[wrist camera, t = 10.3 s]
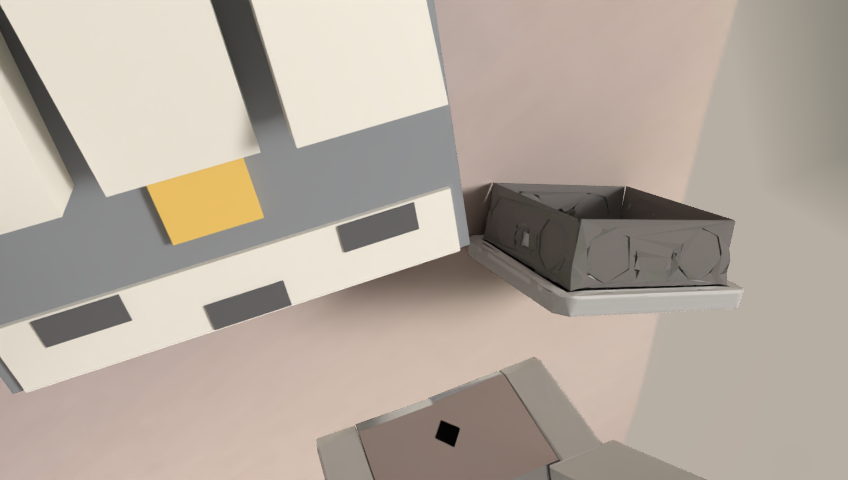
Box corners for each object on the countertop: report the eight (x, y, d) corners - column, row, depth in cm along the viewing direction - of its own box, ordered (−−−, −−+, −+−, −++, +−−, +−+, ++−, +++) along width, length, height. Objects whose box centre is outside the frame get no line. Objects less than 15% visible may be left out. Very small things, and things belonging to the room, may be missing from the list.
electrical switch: (459, 249, 35) (547, 355, 28) (478, 150, 33) (579, 235, 26) (616, 247, 39) (734, 342, 31) (642, 157, 37) (776, 235, 29)
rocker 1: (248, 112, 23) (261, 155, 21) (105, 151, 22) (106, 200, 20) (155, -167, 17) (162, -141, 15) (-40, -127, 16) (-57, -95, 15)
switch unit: (431, 187, 33) (476, 253, 28) (31, 311, 30) (10, 407, 25) (315, -468, 20) (363, -538, 16) (-405, -363, 17) (-603, -412, 13)
